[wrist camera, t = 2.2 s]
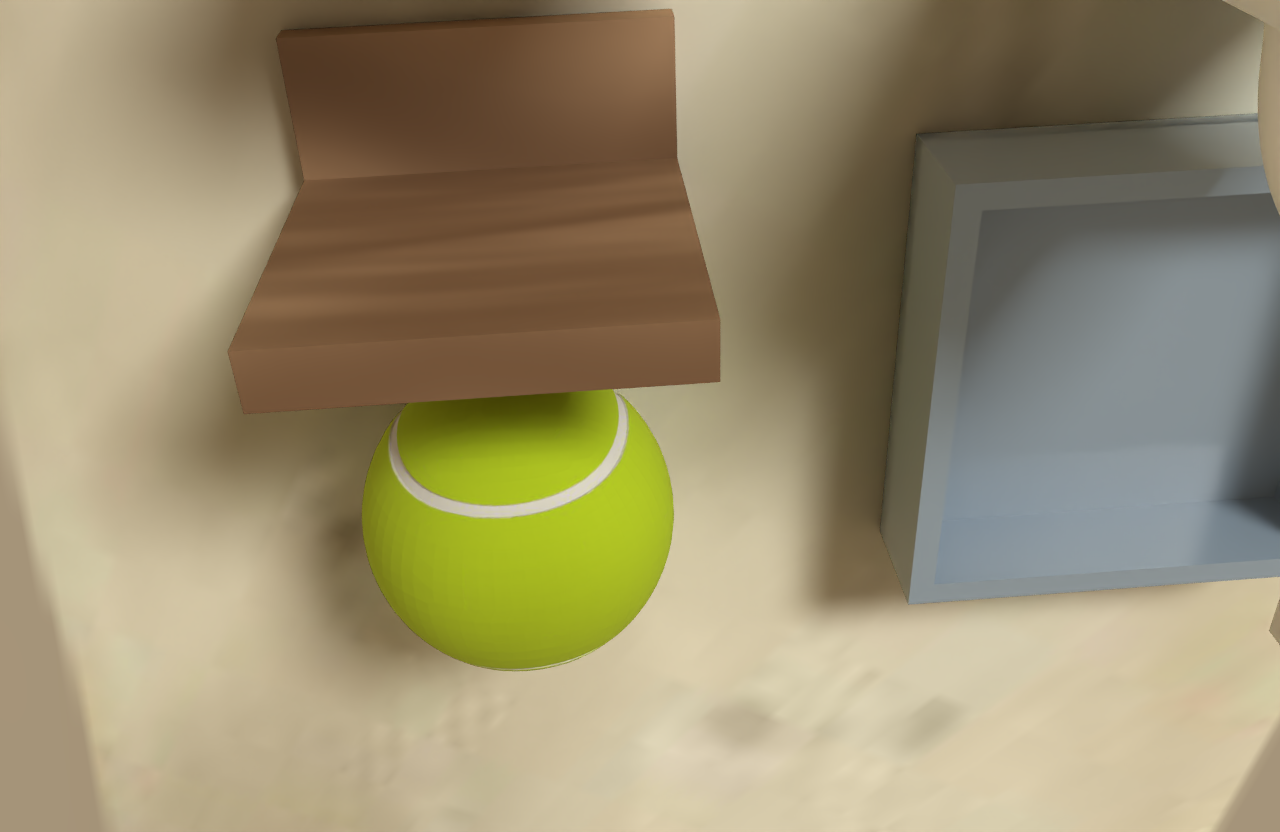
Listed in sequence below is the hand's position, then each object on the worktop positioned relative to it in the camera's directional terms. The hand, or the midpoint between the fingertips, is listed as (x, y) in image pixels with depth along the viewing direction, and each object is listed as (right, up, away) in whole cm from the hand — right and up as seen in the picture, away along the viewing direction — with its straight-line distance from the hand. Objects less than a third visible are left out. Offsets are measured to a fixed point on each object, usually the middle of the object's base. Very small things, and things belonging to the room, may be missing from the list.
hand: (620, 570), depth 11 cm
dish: (+12, +3, +19) cm, 23 cm away
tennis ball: (-3, +1, +19) cm, 19 cm away
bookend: (-3, +8, +15) cm, 17 cm away
